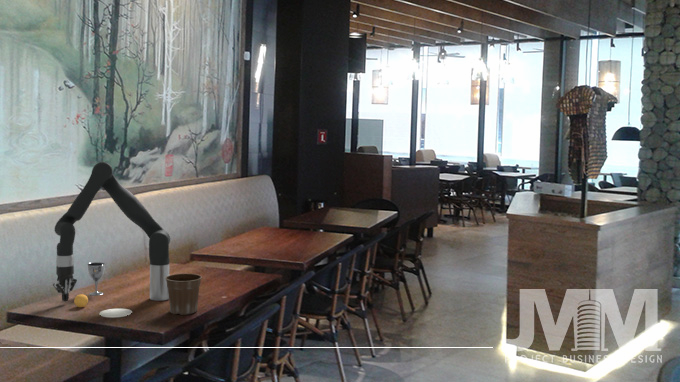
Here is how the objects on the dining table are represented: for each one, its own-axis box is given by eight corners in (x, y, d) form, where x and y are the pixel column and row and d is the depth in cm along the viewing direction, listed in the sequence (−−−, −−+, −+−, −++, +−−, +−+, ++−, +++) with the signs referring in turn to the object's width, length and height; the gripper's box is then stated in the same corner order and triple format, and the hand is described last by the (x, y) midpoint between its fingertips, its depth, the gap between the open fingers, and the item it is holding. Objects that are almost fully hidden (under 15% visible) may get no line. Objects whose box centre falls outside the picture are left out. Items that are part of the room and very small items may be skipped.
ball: (88, 305, 327) (88, 292, 326) (87, 308, 321) (87, 295, 320) (74, 305, 325) (74, 293, 324) (73, 309, 319) (73, 296, 319)
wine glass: (108, 293, 349) (108, 263, 348) (95, 296, 342) (95, 266, 341) (97, 291, 353) (97, 261, 352) (84, 294, 346) (84, 264, 345)
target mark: (132, 308, 324) (132, 307, 324) (131, 316, 310) (131, 316, 310) (100, 309, 320) (100, 309, 320) (98, 318, 307) (98, 317, 307)
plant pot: (158, 310, 321) (158, 276, 320) (188, 305, 333) (189, 271, 331) (177, 318, 310) (177, 282, 308) (208, 312, 321) (208, 277, 319)
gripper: (69, 261, 332) (69, 297, 334) (47, 266, 320) (48, 303, 322) (81, 262, 329) (81, 299, 331) (60, 267, 317) (60, 305, 319)
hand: (65, 301), depth 327 cm, fingers closed
